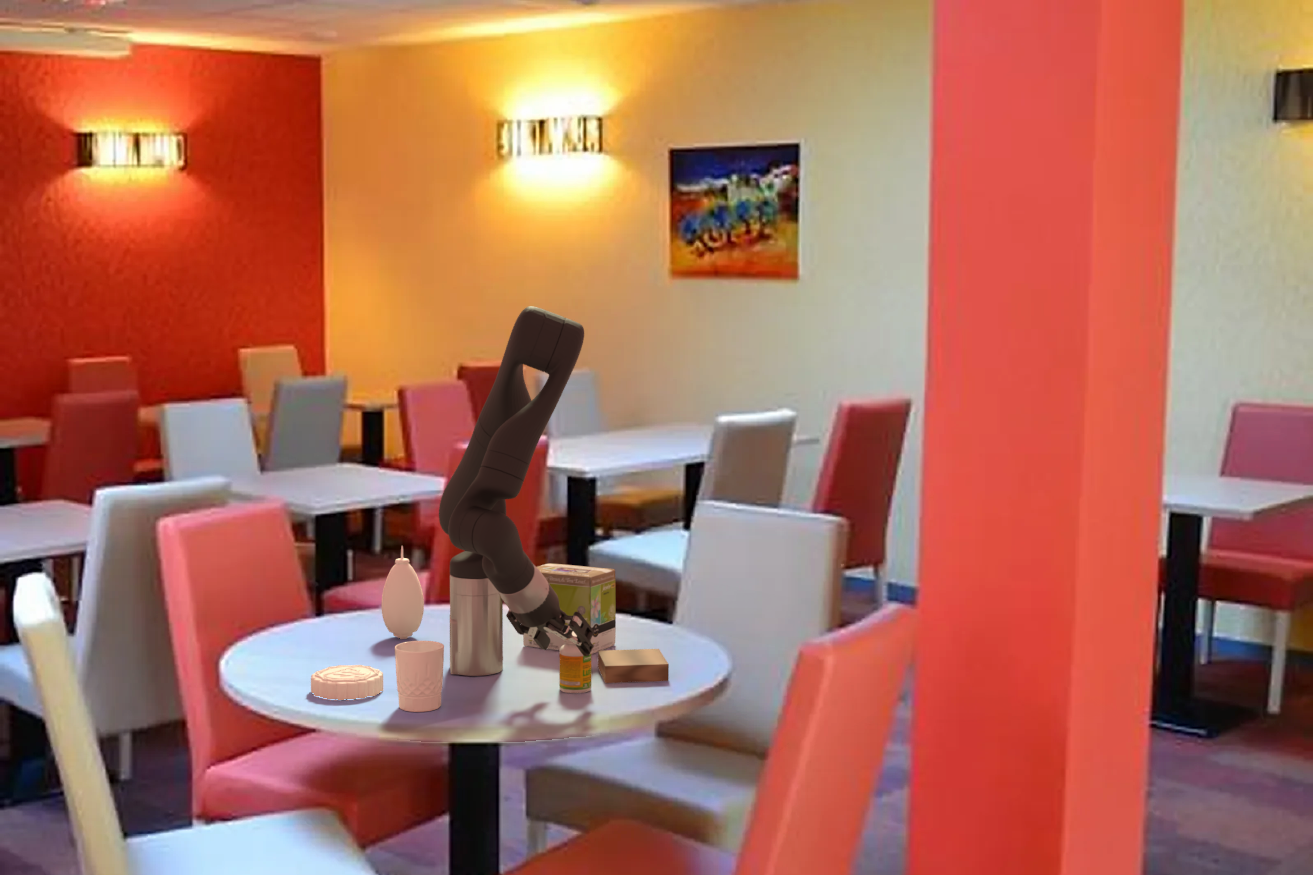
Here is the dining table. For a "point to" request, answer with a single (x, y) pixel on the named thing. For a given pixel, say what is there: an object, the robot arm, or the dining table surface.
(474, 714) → the dining table surface
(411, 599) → the air blower bulb
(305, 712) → the dining table surface
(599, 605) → the tea box
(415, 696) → the peach drinking glass
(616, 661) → the walnut plinth
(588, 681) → the supplement bottle
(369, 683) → the mooncake
